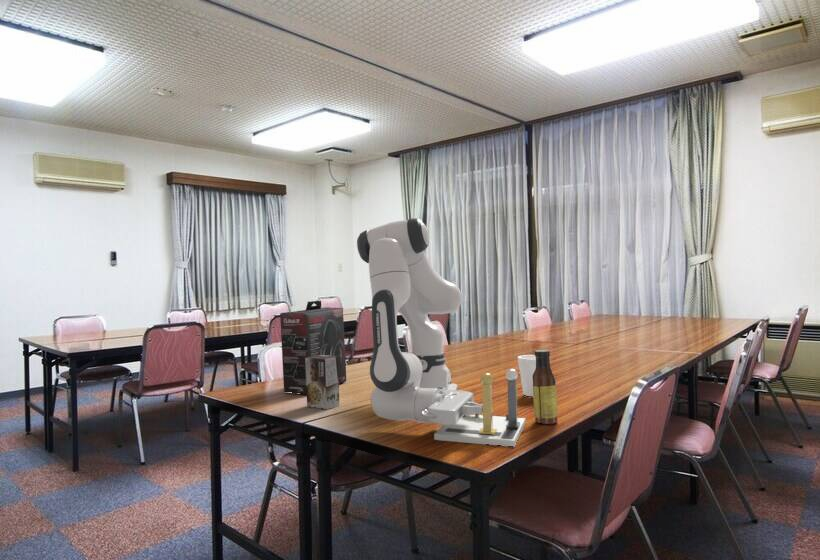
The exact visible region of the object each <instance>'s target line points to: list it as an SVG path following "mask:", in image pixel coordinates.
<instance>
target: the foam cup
mask: <svg viewBox="0 0 820 560" xmlns="http://www.w3.org/2000/svg"><path fill="white" fill-rule="evenodd" d="M517 364H518V368H519V374H520V376H519V377H520V381H521V387H522V394H524V395H526V396H533V373H534V371H535V369H536V356H535V354H524V355H519V356H517ZM524 395H523V396H524ZM526 396H525V397H526Z"/></svg>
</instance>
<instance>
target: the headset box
mask: <svg viewBox="0 0 820 560" xmlns="http://www.w3.org/2000/svg"><path fill="white" fill-rule="evenodd" d="M314 304H315V305H314ZM279 316H280V334H281V335H280V337H281V341H280V342H281V357H282V378H283V379H282V381H283V393H284V392H292V393H300V394H299V395H301V394H307V389H306V364H305V358H306V357H310V356H314V355H329V356H338V373H339V385H340V384H344V383H345V382H347V366H346V365H347V363H346V362H347V361H346V344H345V342H346V341H345V325H344V324H345V323H344V322H345V321H344V308H343V307H331V306H330V307H329V306H327V307H322V300H312V301H307V304H306V307H305V310H304V309H301V310H296V311H295V310H294V311H287V312H280V313H279Z"/></svg>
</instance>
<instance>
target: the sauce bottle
mask: <svg viewBox="0 0 820 560" xmlns="http://www.w3.org/2000/svg"><path fill="white" fill-rule="evenodd" d="M550 352H551V351H550V350H548V349H536V350H534V355H535V356H536V369H535V371H534V373H533V413H534V419H535V422H536V423H537V422H538V423H537V424H540V423H542V424H541V425H546V424H547V425H548V424H549V425H554V423H555V424H557V423H558V416H559V415H558V413H559V412H558V401H557V399H558V398H557V386H556V385H557V384H556V379H555V376H554V374H553V372H552V371H553V370H552V368H551V364H550V355H551V353H550Z"/></svg>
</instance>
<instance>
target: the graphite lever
mask: <svg viewBox="0 0 820 560" xmlns="http://www.w3.org/2000/svg"><path fill="white" fill-rule="evenodd" d="M505 378H506V379H507V410H508V411H507V414H508V423H507V425H506V428H517V429H518V427H519V425H520V422H517V418H518V395H517V394H518V389H517V385H518V384H517V381H518V380H517V379H518V378H519V373H518V371H517V370H516V369H514V368H509V369H507V371H506V372H505Z"/></svg>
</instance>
